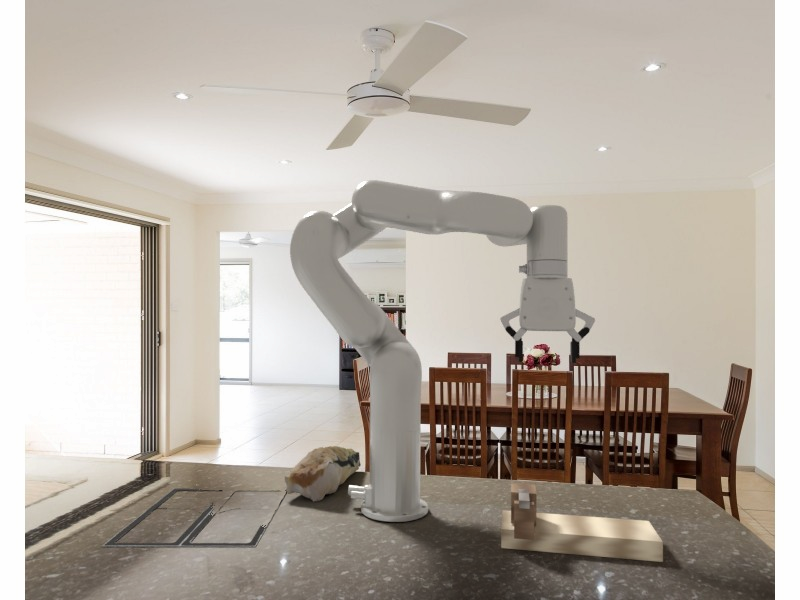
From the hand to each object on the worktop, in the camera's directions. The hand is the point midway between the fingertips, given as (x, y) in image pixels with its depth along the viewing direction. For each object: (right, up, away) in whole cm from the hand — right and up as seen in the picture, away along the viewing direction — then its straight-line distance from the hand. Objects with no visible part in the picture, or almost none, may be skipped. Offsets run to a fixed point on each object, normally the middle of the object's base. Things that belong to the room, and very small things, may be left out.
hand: (546, 362), depth 107 cm
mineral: (-43, -29, +17) cm, 54 cm away
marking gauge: (-8, -25, -15) cm, 31 cm away
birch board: (+1, -28, -15) cm, 32 cm away
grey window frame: (-63, -28, -3) cm, 69 cm away
